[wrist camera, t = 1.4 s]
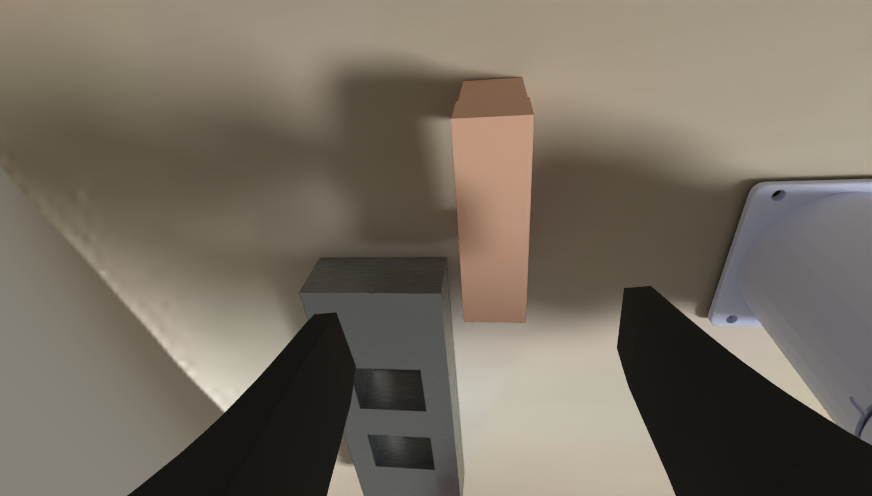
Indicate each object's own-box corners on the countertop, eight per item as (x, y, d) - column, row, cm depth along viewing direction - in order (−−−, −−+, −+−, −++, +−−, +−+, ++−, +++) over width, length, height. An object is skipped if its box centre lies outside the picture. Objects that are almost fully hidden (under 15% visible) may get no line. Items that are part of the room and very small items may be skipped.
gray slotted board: (446, 257, 23) (440, 293, 20) (464, 472, 34) (461, 512, 31) (319, 258, 24) (299, 292, 21) (376, 466, 34) (367, 505, 32)
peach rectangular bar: (522, 72, 17) (533, 115, 12) (518, 240, 22) (525, 322, 17) (463, 75, 18) (451, 118, 13) (470, 241, 22) (463, 321, 17)
